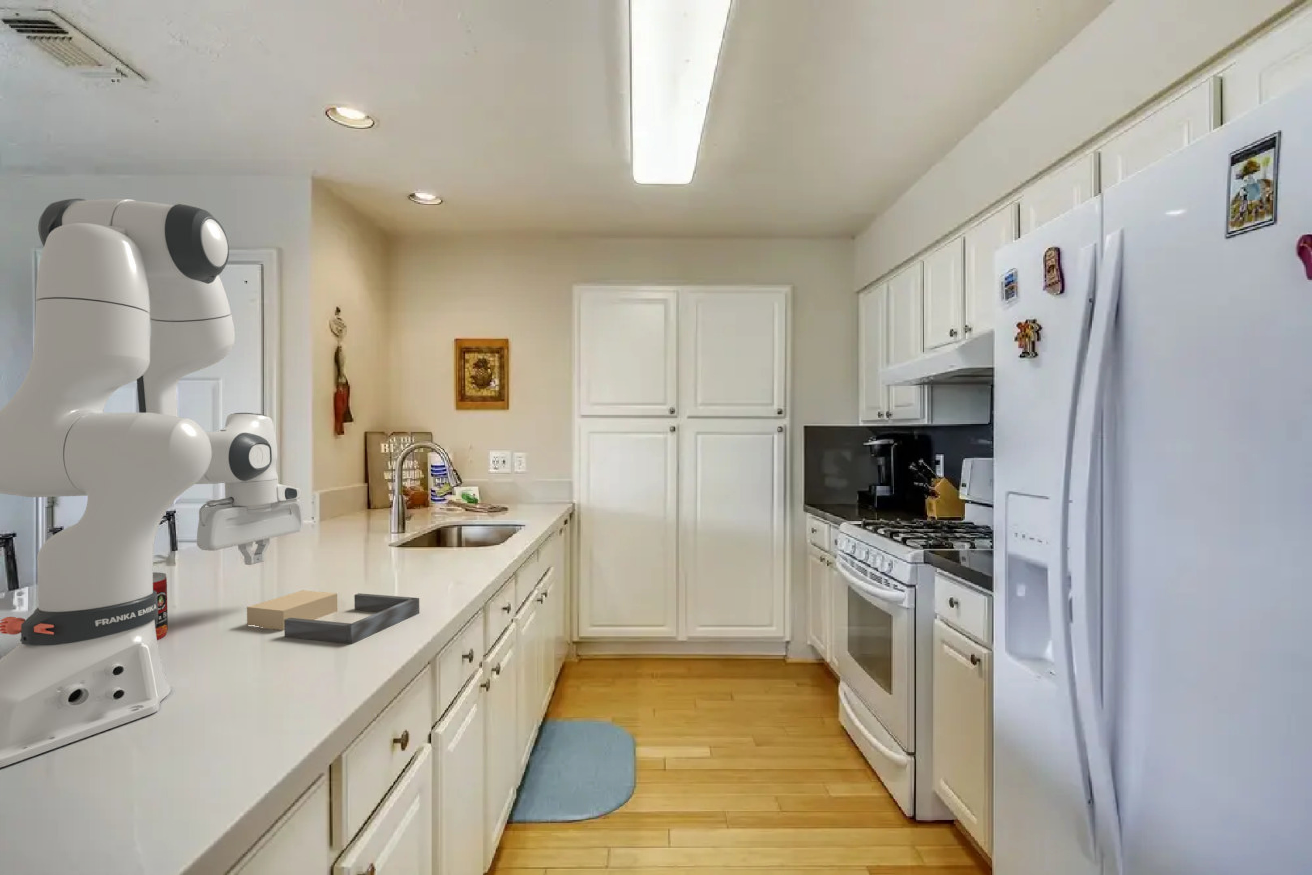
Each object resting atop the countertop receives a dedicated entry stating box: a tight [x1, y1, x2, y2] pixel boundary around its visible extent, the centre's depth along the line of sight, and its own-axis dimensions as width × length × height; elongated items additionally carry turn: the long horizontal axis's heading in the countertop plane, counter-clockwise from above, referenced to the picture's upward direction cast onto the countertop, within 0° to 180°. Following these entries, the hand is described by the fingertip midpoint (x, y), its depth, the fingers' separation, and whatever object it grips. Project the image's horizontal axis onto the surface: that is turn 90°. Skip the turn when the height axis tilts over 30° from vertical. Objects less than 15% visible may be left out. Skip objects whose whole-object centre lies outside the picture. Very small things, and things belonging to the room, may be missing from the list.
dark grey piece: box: [284, 593, 420, 645], centre depth 111 cm, size 17×15×3 cm
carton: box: [246, 590, 338, 631], centre depth 115 cm, size 12×9×4 cm
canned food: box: [153, 571, 169, 641], centre depth 104 cm, size 8×8×11 cm
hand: (254, 563), depth 118 cm, fingers closed
